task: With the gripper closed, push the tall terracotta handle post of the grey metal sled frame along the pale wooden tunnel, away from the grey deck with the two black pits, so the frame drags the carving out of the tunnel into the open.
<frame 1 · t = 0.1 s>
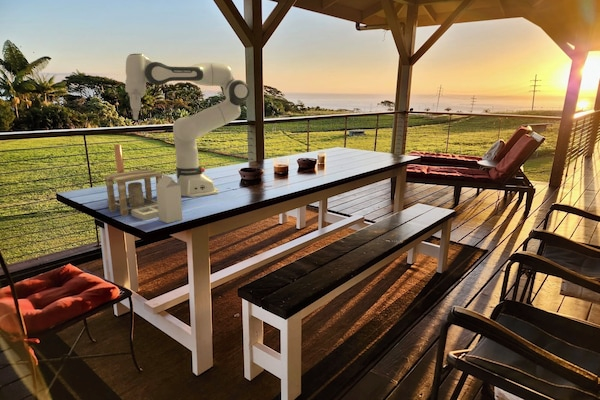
hand: (135, 119, 186), 39 cm above the table, tool pointing down, fingers open, 8 cm apart
carving: (137, 209, 177), on the table
pit deck: (152, 211, 170), on the table
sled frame: (130, 177, 175), point 14 cm above the table, slide at 0.0 cm
tunnel: (137, 208, 177), on the table
milk carton: (170, 220, 163), on the table
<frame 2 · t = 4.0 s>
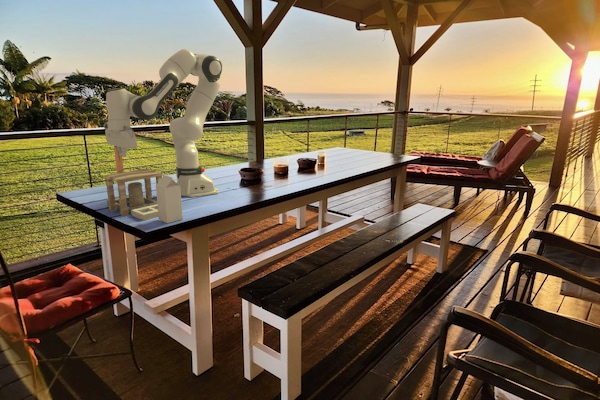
hand: (123, 156, 176), 23 cm above the table, tool pointing down, fingers closed
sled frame: (130, 177, 176), point 14 cm above the table, slide at 0.4 cm, touching gripper
everything else where it was.
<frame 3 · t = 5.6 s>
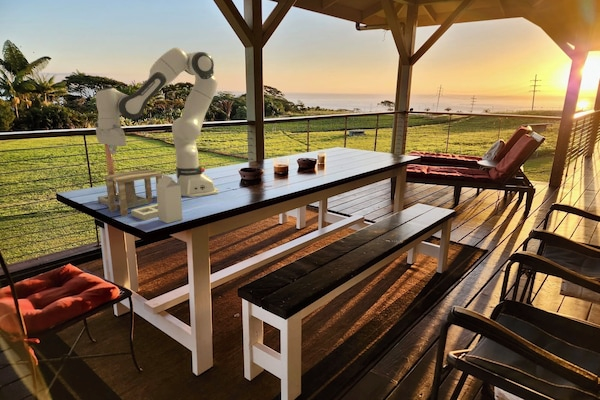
hand: (113, 154, 181), 23 cm above the table, tool pointing down, fingers closed
carving: (130, 206, 182), on the table, touching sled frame
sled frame: (120, 174, 181), point 14 cm above the table, slide at 9.2 cm, touching carving, gripper
everything else where it was.
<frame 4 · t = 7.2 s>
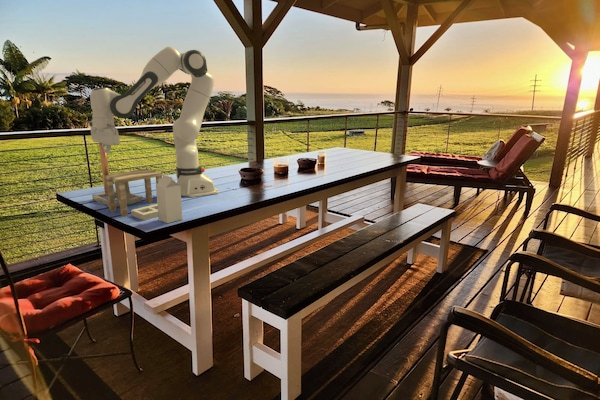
hand: (107, 152, 184), 23 cm above the table, tool pointing down, fingers closed
carving: (124, 203, 185), on the table, touching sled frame
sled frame: (114, 172, 184), point 14 cm above the table, slide at 14.9 cm, touching carving, gripper
everything else where it was.
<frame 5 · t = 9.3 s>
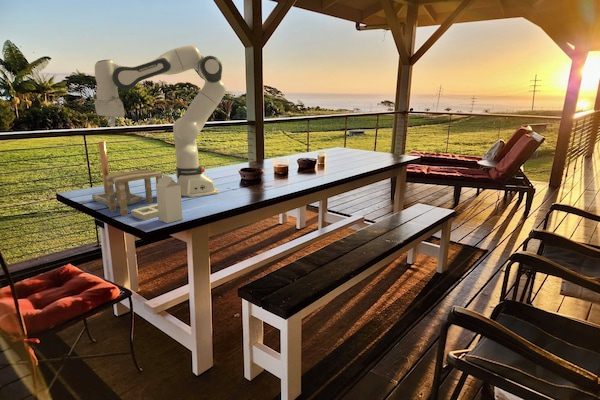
hand: (111, 125, 186), 35 cm above the table, tool pointing down, fingers closed
carving: (124, 203, 185), on the table
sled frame: (114, 172, 184), point 14 cm above the table, slide at 14.9 cm
everything else where it was.
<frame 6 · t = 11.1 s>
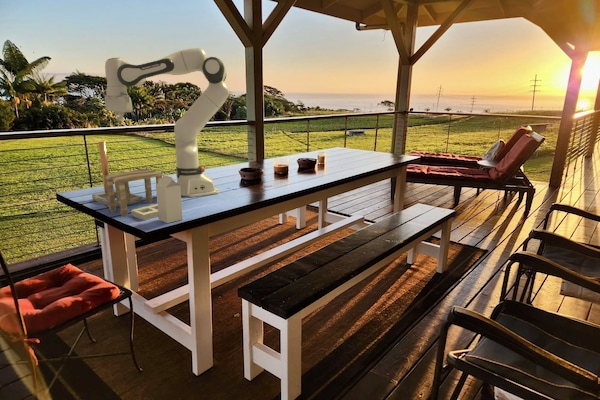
hand: (120, 120, 196), 37 cm above the table, tool pointing down, fingers closed
nothing on the table moved.
at the end: carving inside the target area on the table beside the tunnel (1.4 cm from its centre), on the table; carving tilted 0°; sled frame slide at 14.9 cm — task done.
